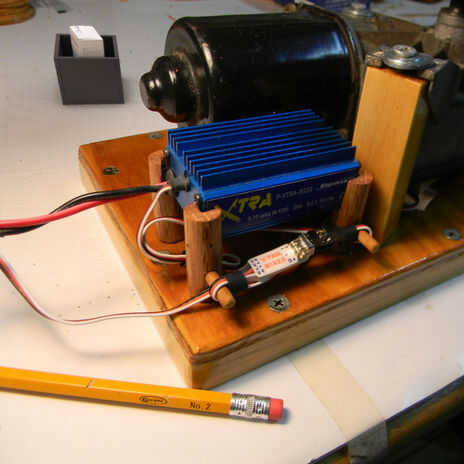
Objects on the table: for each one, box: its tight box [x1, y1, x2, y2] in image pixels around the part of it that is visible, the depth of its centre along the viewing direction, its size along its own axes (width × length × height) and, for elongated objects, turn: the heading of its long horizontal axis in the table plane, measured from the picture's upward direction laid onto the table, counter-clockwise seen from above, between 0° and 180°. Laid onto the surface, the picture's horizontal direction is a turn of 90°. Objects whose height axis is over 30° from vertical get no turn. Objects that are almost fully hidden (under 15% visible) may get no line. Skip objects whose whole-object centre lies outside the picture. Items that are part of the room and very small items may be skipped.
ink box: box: [68, 25, 105, 57], centre depth 101 cm, size 9×5×12 cm, turn 33°
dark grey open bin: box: [53, 32, 125, 105], centre depth 102 cm, size 12×14×10 cm
